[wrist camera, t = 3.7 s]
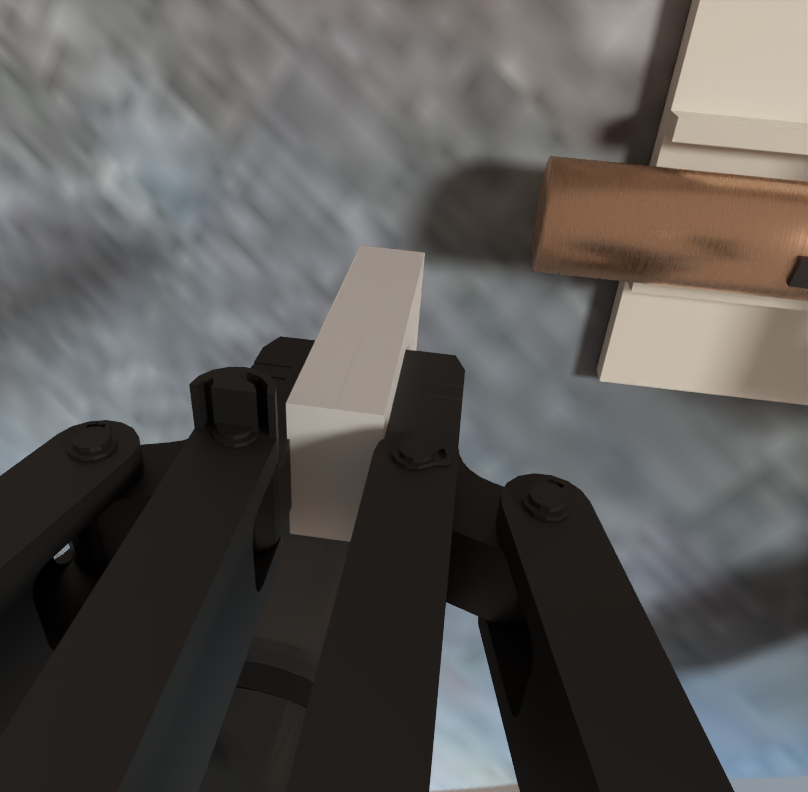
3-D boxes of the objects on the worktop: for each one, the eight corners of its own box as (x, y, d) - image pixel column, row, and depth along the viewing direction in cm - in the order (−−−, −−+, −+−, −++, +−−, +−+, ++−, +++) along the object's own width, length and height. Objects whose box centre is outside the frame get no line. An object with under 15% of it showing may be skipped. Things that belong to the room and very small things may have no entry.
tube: (531, 237, 27) (532, 297, 24) (550, 137, 25) (555, 191, 22) (1001, 286, 26) (1065, 355, 23) (1074, 188, 24) (1158, 252, 21)
